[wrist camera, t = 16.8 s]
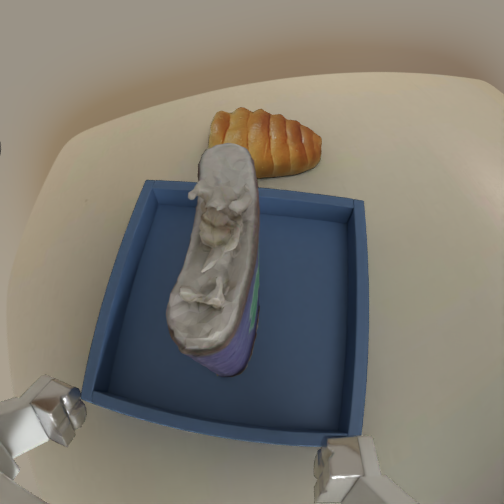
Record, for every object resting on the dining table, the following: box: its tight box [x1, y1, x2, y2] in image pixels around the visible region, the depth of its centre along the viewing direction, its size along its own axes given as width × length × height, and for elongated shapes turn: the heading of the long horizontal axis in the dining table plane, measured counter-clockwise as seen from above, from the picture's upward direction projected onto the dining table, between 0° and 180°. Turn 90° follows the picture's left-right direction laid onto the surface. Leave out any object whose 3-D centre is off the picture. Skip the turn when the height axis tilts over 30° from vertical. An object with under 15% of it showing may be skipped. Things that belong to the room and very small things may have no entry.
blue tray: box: [81, 180, 369, 447], centre depth 18 cm, size 16×16×3 cm
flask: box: [166, 143, 260, 377], centre depth 14 cm, size 9×3×11 cm, turn 176°
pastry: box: [208, 107, 322, 178], centre depth 24 cm, size 9×7×4 cm
